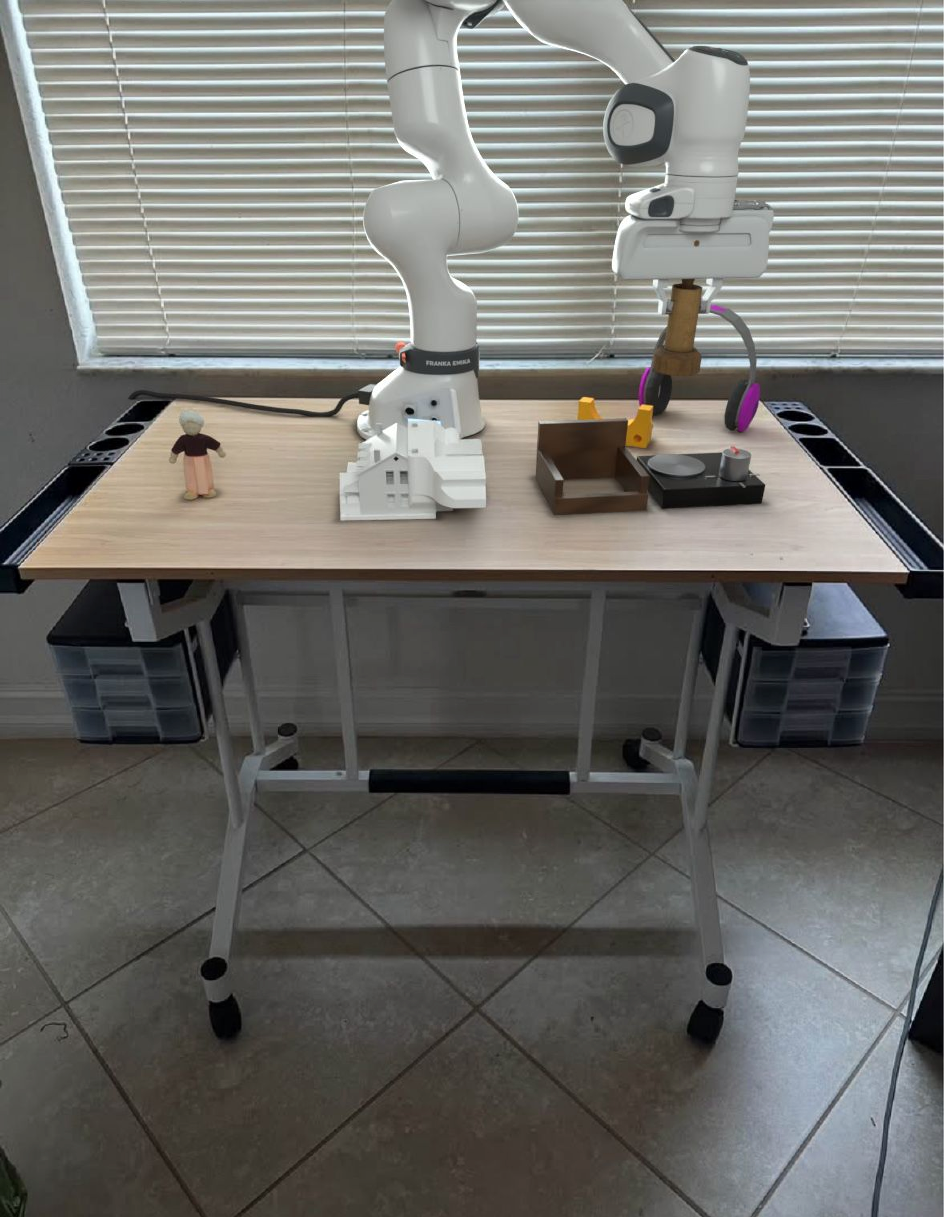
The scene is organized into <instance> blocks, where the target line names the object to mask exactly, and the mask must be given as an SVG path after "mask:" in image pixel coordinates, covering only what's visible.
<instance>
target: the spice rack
mask: <svg viewBox="0 0 944 1217" xmlns="http://www.w3.org/2000/svg"><path fill="white" fill-rule="evenodd" d="M628 421H629V419H627V418H626V417H622V418H602V419H590V420H578V419H568V420H567V419H566V420H538V422H537V442H536V443H537V444H536V460H535V461H536V462H535V480H536V481H537V484H538V485H539V487H540V489H541V491H542V493H543V495H544V497H545V499H546V501H547V503H548V505H549V507H550V509H551V511H552V513H553V515H554V516H561V515H562V516H563V515H580V514H581V515H582V514H583V515H584V514H599V513H600V514H601V513H602V514H603V513H619V512H620V513H623V512H641V511H642V512H643V511H648V503H649V494H650V493H649V492H648V483H649V475H648V474H647V473H646V471H645V470H644V469H643V468H642V466H641V465H640V464H639V463H638V461H637V458H636V457H635V456H634V455H633V454H632V453H631V451H630V450H629V448H627V445H626V437H627V428H628ZM609 478H611V479H613V478H615V480H616V481H617V482H618V484H619V486H621V488H622V489H623V491H615V492H596V493H595V492H594V493H593V492H592V493H574V494H564V483H565V480H567V481H569V480H585V479H586V480H587V479H609Z"/></svg>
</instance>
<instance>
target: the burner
mask: <svg viewBox="0 0 944 1217" xmlns="http://www.w3.org/2000/svg"><path fill="white" fill-rule="evenodd" d="M678 454H679V453H678ZM678 454H677V453H663V454H656V455H657V456H654V457H652V458H650V459H649V460H648V467H649V468H650V469H651V470H652V471H654V472H656V473H658V474H661V475H665V476H670V477H678V478H687V477H694V476H698V475H701V474H702V473H703V472H704V471H705V465H704V463H703V462H701V461H700V460H698V459H696V458H693V457H689V456H685V455H678Z"/></svg>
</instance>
